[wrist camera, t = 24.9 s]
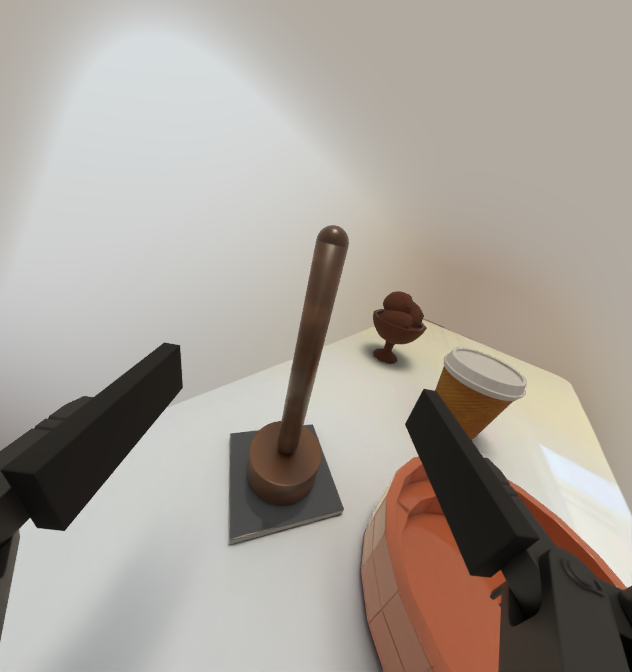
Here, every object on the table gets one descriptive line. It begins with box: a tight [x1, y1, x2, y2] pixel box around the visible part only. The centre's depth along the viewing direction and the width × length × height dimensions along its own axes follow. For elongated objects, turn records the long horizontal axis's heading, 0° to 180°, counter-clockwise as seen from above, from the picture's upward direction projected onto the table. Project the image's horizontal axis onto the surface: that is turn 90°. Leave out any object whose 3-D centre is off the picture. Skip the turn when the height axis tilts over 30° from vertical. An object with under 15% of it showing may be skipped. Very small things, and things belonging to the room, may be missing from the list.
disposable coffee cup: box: [435, 348, 527, 441], centre depth 32 cm, size 10×10×12 cm
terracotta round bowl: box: [361, 457, 627, 672], centre depth 16 cm, size 17×17×6 cm
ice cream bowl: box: [373, 292, 427, 364], centre depth 49 cm, size 11×11×15 cm
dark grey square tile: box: [229, 424, 344, 545], centre depth 24 cm, size 10×10×1 cm
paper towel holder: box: [247, 225, 349, 505], centre depth 19 cm, size 7×7×23 cm
